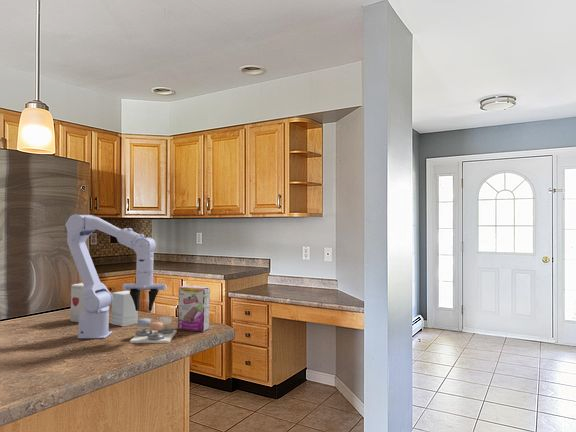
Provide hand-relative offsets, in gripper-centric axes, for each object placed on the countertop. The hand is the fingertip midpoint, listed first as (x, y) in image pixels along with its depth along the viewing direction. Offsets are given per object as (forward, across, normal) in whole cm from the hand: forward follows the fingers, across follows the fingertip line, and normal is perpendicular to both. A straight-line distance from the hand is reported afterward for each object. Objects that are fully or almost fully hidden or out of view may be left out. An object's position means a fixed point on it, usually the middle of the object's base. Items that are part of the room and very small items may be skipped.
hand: (143, 310), depth 151 cm
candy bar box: (+10, +16, +12) cm, 22 cm away
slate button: (+6, -1, +2) cm, 6 cm away
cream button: (+6, +7, +5) cm, 10 cm away
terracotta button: (+6, +5, -3) cm, 8 cm away
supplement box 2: (+10, -13, +22) cm, 27 cm away
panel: (+10, +4, +2) cm, 11 cm away
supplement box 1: (+10, -30, +28) cm, 42 cm away
